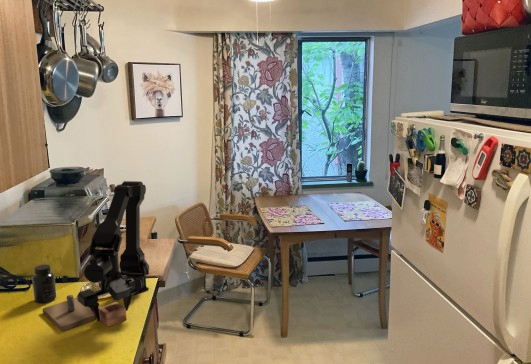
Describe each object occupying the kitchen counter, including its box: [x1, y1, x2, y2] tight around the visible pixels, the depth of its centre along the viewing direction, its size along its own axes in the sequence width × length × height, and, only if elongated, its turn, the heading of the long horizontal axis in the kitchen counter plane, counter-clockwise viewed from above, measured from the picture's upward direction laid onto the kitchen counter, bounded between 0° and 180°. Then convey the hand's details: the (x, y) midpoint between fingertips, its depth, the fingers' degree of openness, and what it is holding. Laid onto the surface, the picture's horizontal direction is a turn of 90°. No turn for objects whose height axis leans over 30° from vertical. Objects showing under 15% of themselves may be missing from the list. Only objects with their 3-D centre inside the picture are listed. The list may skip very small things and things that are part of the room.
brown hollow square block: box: [98, 301, 127, 328], centre depth 140 cm, size 6×6×4 cm
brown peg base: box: [42, 294, 97, 332], centre depth 143 cm, size 12×16×6 cm
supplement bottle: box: [31, 263, 57, 305], centre depth 153 cm, size 7×7×12 cm
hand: (112, 315), depth 140 cm, fingers open, 9 cm apart
